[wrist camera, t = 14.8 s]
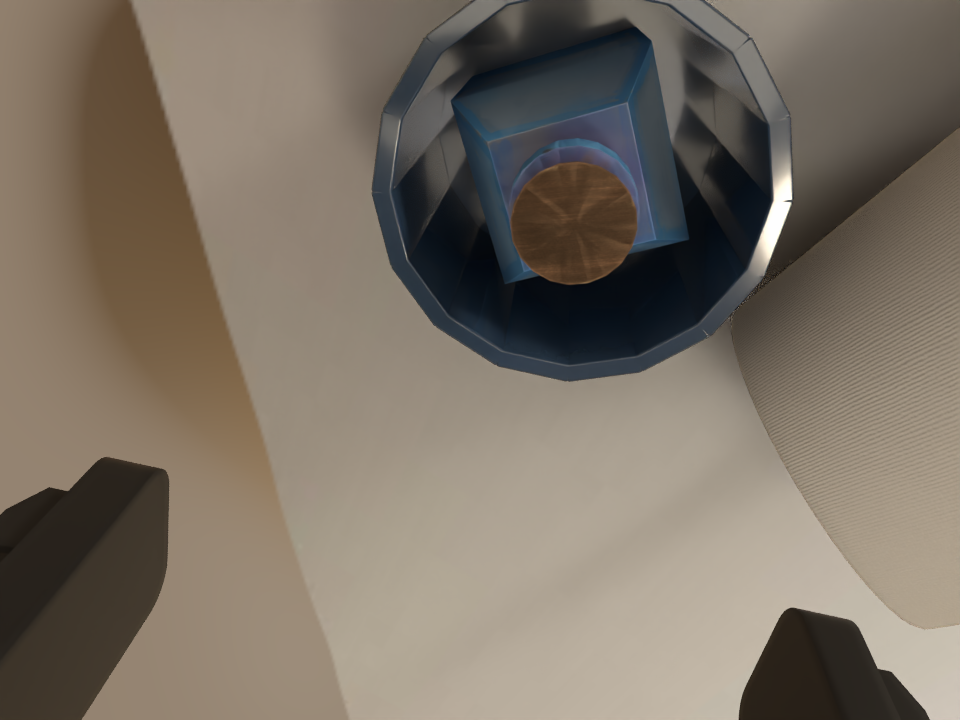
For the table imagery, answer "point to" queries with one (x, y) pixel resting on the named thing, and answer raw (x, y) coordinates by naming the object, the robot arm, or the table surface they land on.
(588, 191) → the perfume bottle
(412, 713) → the table surface
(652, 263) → the holder
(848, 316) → the light fixture
